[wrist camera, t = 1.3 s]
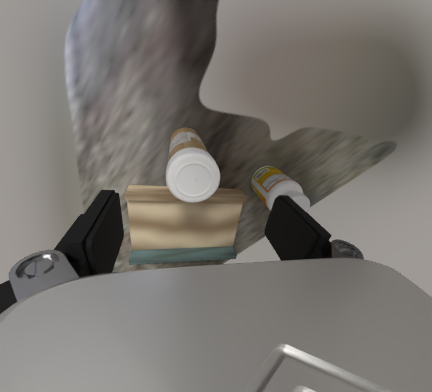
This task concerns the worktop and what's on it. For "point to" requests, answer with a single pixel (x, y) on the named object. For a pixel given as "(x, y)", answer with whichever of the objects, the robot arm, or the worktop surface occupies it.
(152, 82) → the worktop surface
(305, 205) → the supplement bottle
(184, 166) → the sprinkles bottle
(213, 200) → the shelf board
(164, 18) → the worktop surface
